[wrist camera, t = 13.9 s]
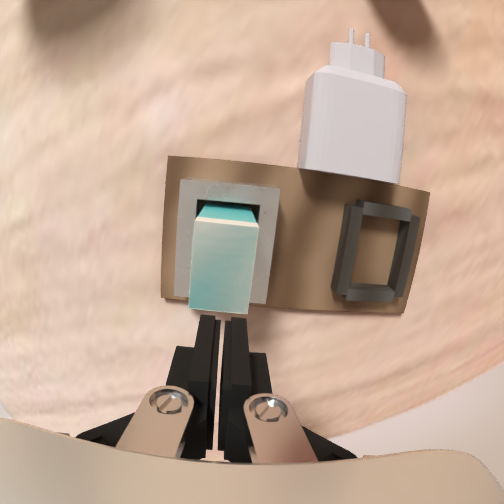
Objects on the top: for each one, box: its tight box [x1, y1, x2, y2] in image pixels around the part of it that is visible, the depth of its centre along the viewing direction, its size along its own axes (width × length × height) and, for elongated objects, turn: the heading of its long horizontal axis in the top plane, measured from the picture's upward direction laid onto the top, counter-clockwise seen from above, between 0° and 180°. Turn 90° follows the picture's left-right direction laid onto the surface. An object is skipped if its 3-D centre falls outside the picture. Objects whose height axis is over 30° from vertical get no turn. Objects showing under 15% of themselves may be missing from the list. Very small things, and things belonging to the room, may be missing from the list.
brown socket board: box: [161, 156, 430, 313], centre depth 31 cm, size 27×14×3 cm, turn 84°
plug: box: [188, 202, 259, 314], centre depth 26 cm, size 4×6×10 cm, turn 173°
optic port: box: [174, 178, 281, 304], centre depth 29 cm, size 8×10×4 cm
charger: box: [297, 29, 407, 184], centre depth 27 cm, size 5×9×15 cm
